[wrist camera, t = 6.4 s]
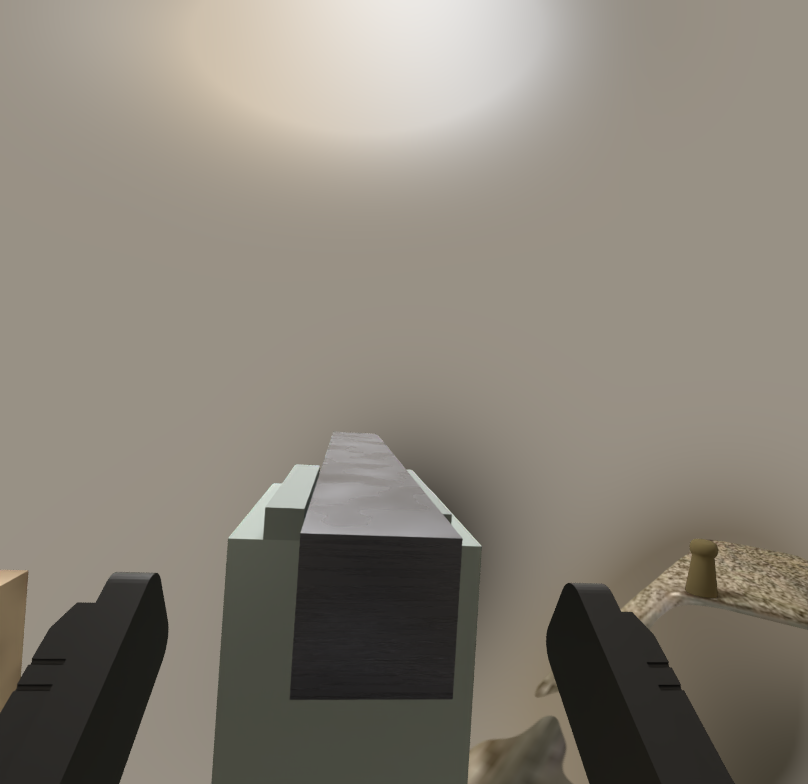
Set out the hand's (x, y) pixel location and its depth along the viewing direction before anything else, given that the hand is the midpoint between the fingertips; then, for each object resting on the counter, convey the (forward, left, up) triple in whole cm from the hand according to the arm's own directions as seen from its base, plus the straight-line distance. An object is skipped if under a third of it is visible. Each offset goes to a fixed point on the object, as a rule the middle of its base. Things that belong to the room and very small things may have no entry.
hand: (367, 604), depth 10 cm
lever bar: (0, -8, 0) cm, 9 cm away
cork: (-76, -91, -33) cm, 123 cm away
